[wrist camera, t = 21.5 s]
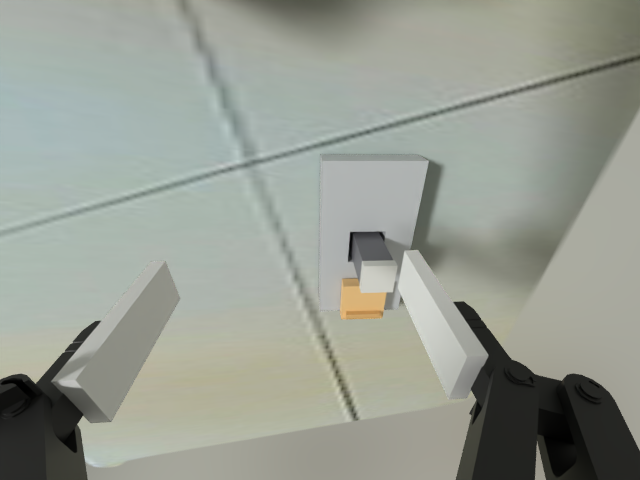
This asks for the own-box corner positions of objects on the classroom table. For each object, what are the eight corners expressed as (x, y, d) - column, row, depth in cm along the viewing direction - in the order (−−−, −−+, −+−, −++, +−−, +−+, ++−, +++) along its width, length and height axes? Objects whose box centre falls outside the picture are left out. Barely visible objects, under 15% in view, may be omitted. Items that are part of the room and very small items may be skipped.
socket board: (320, 154, 37) (322, 160, 34) (417, 154, 38) (429, 160, 35) (318, 296, 50) (319, 311, 47) (391, 294, 51) (398, 309, 47)
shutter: (341, 278, 43) (344, 289, 40) (384, 277, 43) (389, 288, 41) (339, 310, 46) (341, 322, 44) (379, 309, 47) (383, 321, 44)
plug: (349, 223, 43) (363, 266, 32) (375, 223, 43) (397, 265, 33) (347, 246, 45) (361, 292, 34) (372, 245, 45) (392, 292, 35)
